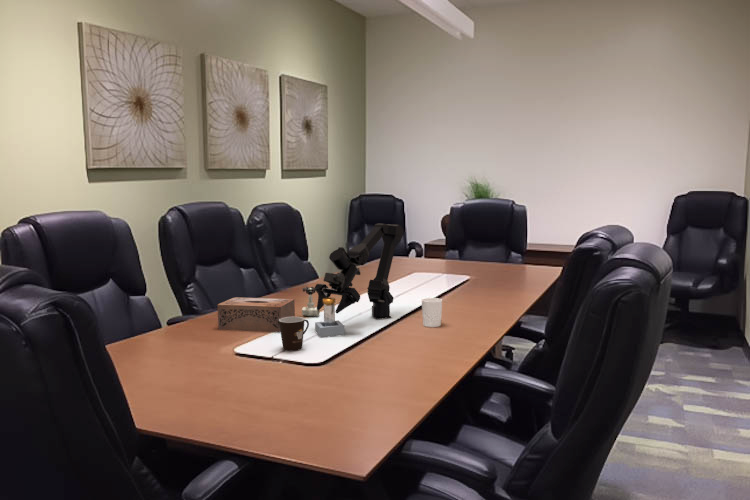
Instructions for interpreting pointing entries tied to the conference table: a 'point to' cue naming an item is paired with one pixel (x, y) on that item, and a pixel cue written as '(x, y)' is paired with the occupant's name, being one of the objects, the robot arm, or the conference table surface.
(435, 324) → the white cup
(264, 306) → the tissue box cover
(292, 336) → the coffee mug
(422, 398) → the conference table surface
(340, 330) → the grey square hollow block
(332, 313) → the gold-capped bottle
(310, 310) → the valve
